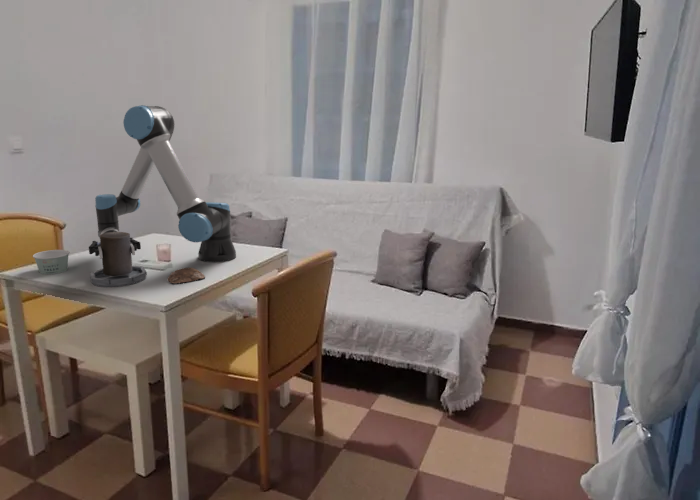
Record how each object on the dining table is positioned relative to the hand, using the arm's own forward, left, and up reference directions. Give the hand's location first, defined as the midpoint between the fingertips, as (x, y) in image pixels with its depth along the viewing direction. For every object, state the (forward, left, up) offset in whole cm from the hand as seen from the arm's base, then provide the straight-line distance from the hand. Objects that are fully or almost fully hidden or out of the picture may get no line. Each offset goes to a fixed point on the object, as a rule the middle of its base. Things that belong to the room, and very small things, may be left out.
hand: (117, 252), depth 178 cm
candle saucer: (+3, -3, -11) cm, 12 cm away
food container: (+33, -4, -11) cm, 35 cm away
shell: (-18, -12, -11) cm, 25 cm away
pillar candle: (+3, -3, -8) cm, 9 cm away
